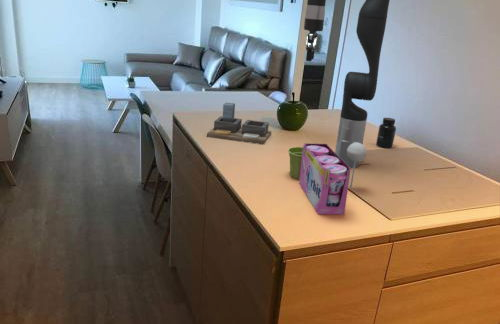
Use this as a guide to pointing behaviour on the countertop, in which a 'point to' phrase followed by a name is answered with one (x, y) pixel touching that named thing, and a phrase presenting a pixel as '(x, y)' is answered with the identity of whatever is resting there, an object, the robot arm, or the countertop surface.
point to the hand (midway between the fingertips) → (309, 60)
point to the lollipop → (356, 155)
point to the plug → (228, 112)
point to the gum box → (324, 178)
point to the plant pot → (295, 161)
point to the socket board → (240, 130)
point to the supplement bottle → (386, 133)
